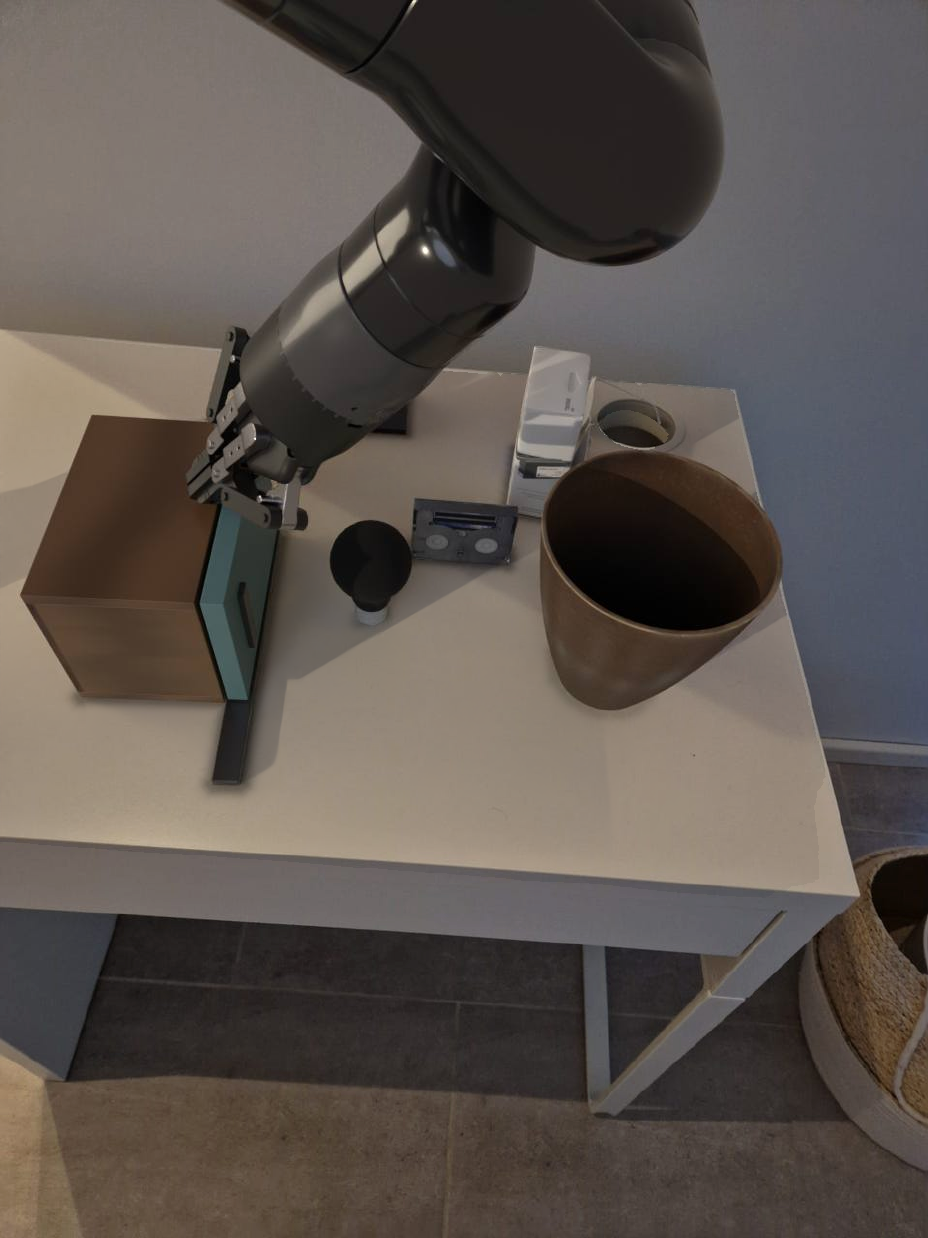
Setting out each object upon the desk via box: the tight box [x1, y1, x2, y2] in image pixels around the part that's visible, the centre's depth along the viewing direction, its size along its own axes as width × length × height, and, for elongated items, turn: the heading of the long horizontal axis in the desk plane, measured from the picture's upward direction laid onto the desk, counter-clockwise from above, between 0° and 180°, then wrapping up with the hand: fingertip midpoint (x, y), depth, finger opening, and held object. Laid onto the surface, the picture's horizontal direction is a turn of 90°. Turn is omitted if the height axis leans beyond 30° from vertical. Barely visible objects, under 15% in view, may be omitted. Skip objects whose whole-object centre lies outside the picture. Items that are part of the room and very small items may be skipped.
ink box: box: [506, 345, 592, 519], centre depth 68 cm, size 8×5×12 cm, turn 172°
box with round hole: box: [571, 375, 662, 468], centre depth 74 cm, size 14×8×5 cm, turn 170°
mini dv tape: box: [410, 497, 519, 567], centre depth 64 cm, size 8×2×6 cm, turn 89°
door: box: [200, 477, 277, 700], centre depth 56 cm, size 2×17×11 cm, turn 1°
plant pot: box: [539, 449, 784, 711], centre depth 55 cm, size 15×15×16 cm
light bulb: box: [329, 519, 413, 626], centre depth 58 cm, size 6×6×10 cm
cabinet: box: [19, 414, 282, 787], centre depth 55 cm, size 12×23×12 cm, turn 1°
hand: (201, 489), depth 52 cm, fingers closed
